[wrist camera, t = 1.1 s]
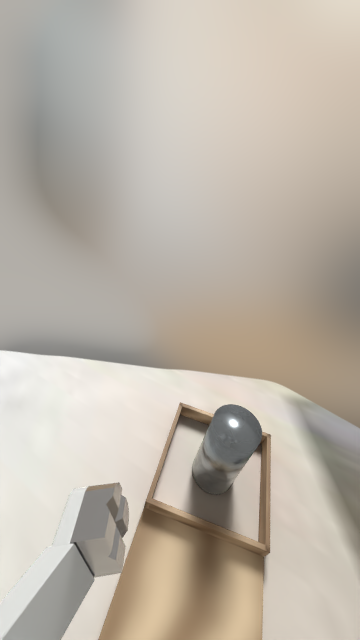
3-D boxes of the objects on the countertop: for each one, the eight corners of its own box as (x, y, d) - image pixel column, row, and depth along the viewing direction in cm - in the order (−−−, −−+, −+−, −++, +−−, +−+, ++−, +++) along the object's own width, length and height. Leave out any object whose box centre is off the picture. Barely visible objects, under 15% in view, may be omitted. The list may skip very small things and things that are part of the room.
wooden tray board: (72, 715, 20) (70, 718, 19) (177, 410, 42) (180, 402, 41) (256, 813, 18) (268, 824, 17) (265, 442, 41) (270, 434, 39)
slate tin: (187, 484, 34) (208, 439, 27) (197, 445, 38) (217, 398, 32) (229, 501, 33) (261, 459, 27) (234, 459, 38) (262, 414, 31)
